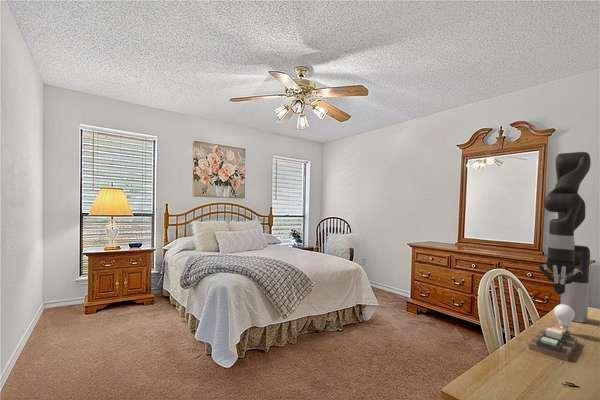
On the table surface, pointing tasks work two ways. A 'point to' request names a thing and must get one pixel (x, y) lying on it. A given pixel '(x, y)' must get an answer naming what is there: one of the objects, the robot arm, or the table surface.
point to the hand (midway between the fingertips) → (559, 293)
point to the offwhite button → (554, 333)
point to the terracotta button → (559, 329)
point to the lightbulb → (564, 315)
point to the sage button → (549, 341)
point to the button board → (560, 351)
